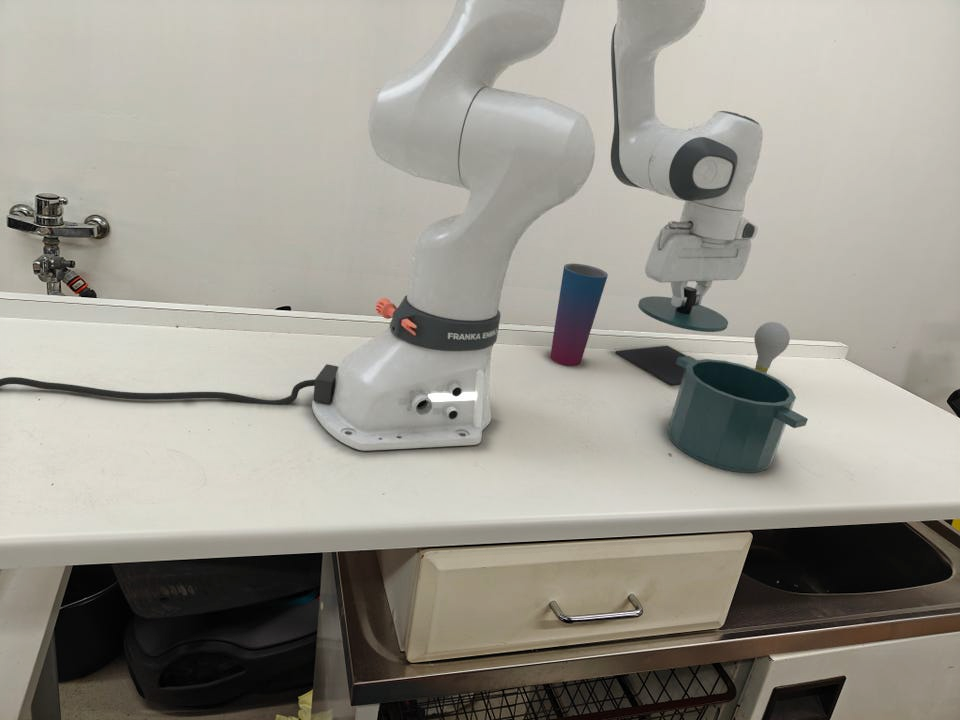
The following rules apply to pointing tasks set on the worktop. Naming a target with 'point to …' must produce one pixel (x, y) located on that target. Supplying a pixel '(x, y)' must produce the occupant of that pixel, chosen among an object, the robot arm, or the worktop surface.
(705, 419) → the pot
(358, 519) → the worktop surface
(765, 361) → the light bulb
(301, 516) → the worktop surface
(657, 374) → the plate
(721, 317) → the lid
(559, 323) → the cup
